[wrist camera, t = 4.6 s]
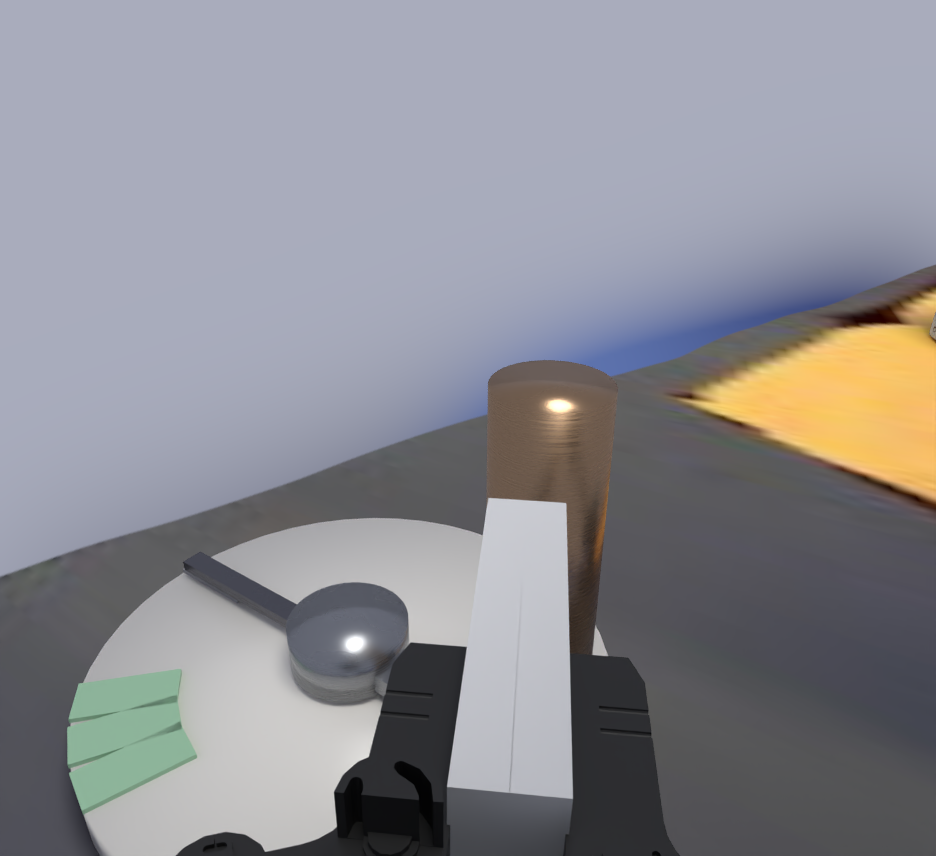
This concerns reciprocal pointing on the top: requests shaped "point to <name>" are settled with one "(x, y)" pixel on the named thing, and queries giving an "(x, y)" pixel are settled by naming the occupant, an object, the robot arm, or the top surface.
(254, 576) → the round white plate
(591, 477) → the crank handle
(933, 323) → the skincare box
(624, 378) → the top surface
